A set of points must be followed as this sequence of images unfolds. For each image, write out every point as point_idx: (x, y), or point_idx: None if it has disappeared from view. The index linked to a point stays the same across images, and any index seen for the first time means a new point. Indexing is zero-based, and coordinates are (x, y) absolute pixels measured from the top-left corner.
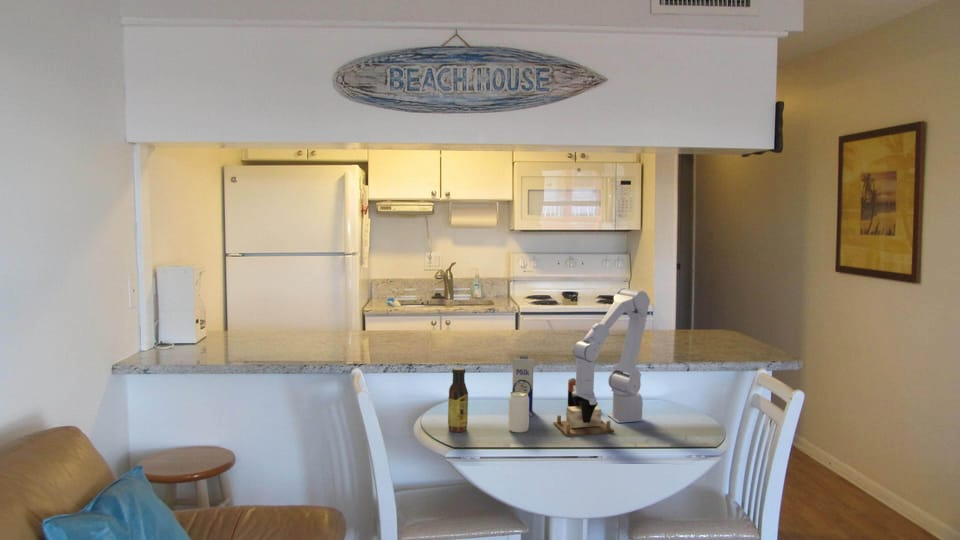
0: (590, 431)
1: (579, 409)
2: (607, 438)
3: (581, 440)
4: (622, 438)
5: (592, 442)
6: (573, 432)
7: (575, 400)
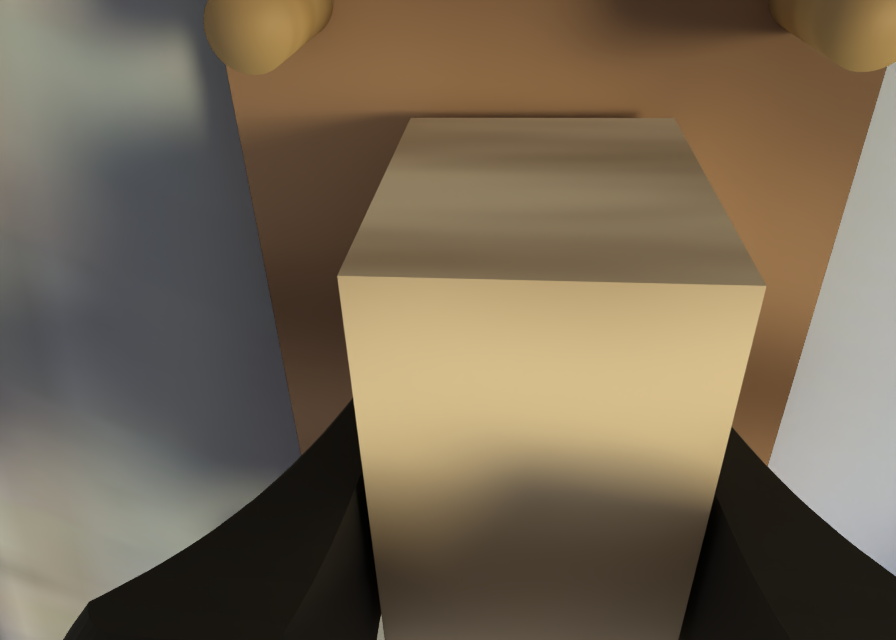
0: (295, 348)
1: (451, 485)
2: (161, 438)
3: (56, 117)
4: (169, 550)
5: (4, 235)
6: (267, 90)
7: (769, 638)
